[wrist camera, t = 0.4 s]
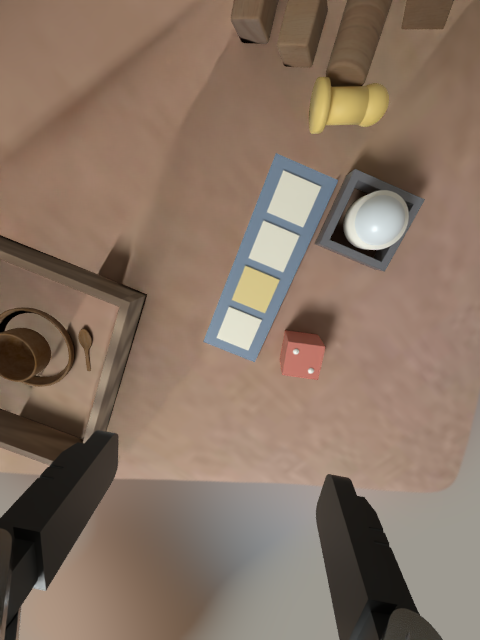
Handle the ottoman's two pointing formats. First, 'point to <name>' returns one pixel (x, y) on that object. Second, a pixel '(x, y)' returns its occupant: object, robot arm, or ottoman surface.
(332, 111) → the pawn
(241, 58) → the ottoman surface
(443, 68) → the ottoman surface
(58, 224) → the ottoman surface
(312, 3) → the wooden block set
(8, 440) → the serving frame
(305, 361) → the die
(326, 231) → the base
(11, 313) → the place setting
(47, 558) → the robot arm
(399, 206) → the dome
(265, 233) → the board
